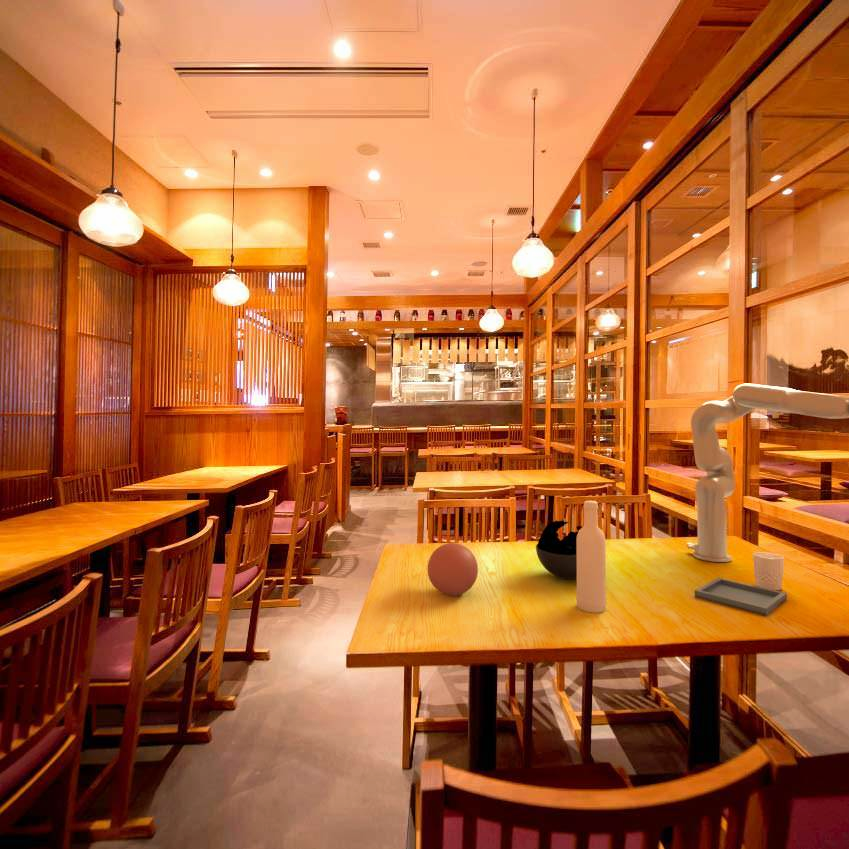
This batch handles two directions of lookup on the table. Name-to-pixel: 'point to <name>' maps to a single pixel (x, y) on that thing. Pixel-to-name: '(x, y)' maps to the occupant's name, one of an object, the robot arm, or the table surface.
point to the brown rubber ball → (452, 569)
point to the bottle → (591, 562)
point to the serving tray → (741, 596)
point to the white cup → (768, 570)
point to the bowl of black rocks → (558, 551)
